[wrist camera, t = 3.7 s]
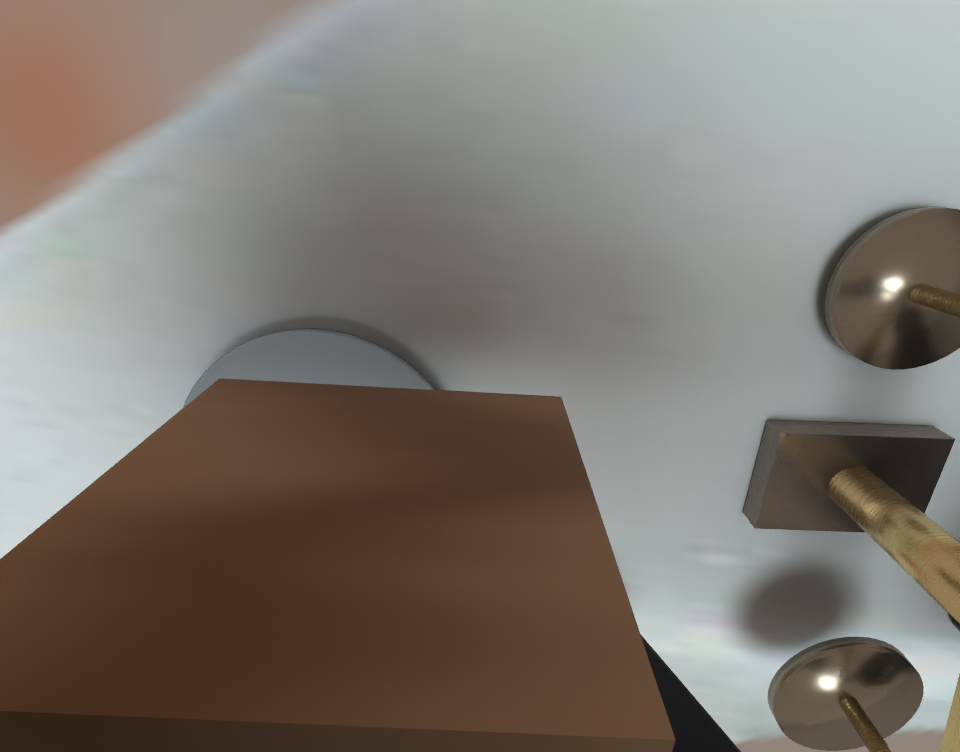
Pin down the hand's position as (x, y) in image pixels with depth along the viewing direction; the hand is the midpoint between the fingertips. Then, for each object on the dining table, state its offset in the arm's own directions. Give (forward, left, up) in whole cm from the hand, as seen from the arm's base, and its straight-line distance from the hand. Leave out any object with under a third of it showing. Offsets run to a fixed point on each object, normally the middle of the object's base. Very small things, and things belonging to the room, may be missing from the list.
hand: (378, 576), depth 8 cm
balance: (-15, +5, -11) cm, 19 cm away
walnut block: (0, 0, -1) cm, 1 cm away
